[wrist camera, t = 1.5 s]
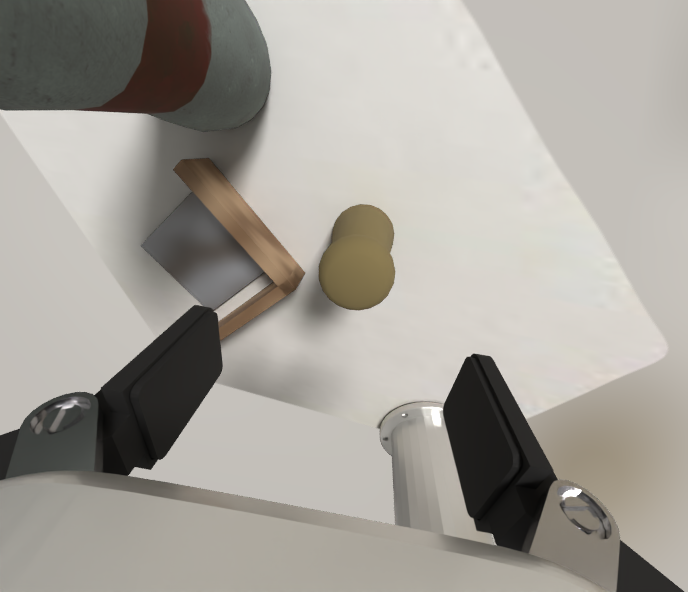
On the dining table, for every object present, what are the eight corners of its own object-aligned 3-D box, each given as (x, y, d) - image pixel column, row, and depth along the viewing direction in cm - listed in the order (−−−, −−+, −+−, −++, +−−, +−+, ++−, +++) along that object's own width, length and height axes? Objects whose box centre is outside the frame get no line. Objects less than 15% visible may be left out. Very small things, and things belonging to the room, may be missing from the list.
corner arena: (305, 272, 30) (295, 289, 26) (214, 336, 35) (196, 357, 31) (208, 158, 25) (181, 159, 22) (122, 251, 31) (89, 264, 27)
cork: (336, 267, 29) (315, 326, 19) (328, 207, 26) (299, 241, 16) (395, 263, 28) (404, 322, 18) (393, 200, 25) (402, 232, 16)
